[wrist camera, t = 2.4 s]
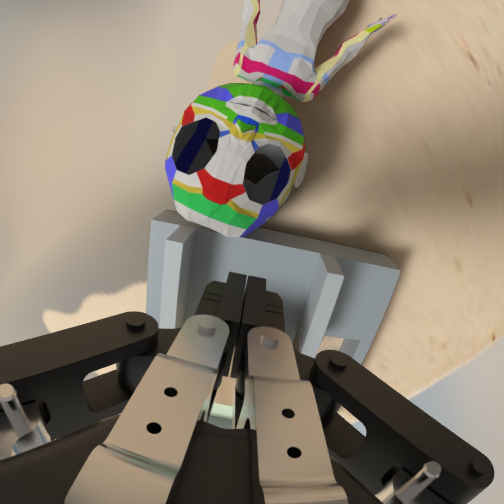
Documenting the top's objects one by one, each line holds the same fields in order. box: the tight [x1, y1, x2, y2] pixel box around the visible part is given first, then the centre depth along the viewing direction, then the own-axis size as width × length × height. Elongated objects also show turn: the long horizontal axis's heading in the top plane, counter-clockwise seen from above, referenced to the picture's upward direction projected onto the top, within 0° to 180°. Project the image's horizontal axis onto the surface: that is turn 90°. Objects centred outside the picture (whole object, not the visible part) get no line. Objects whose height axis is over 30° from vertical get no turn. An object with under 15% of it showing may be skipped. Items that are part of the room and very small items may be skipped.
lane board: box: [146, 210, 401, 429], centre depth 23 cm, size 17×18×6 cm
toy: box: [165, 0, 397, 237], centre depth 15 cm, size 10×8×30 cm
